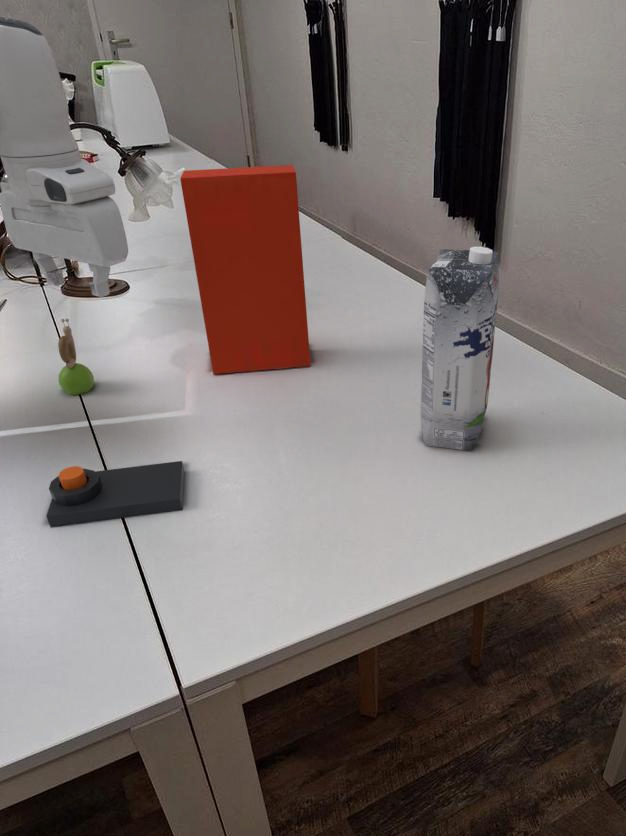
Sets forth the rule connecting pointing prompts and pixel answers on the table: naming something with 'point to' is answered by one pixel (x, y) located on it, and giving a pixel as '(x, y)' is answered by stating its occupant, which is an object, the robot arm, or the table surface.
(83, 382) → the snail figurine
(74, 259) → the robot arm
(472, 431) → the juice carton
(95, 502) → the orange push button base
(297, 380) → the table surface
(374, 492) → the table surface
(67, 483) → the button
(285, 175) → the file binder
